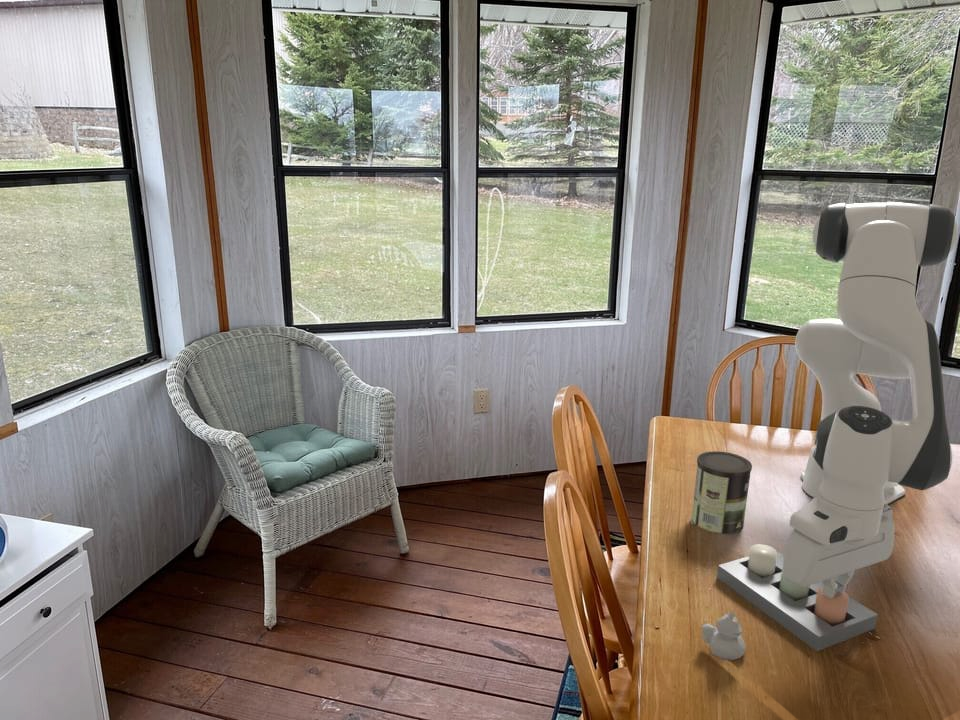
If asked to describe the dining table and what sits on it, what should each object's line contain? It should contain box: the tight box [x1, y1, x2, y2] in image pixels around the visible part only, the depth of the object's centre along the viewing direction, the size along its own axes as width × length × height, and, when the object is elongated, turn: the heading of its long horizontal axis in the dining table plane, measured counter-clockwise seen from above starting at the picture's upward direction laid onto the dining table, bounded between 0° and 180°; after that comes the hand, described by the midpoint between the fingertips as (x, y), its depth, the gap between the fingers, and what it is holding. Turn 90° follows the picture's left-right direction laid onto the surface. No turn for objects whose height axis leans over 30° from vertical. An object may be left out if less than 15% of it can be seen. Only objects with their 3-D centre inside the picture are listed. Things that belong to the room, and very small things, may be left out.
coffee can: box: [690, 451, 753, 535], centre depth 144 cm, size 10×10×14 cm
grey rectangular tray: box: [716, 551, 879, 652], centre depth 120 cm, size 13×21×4 cm, turn 26°
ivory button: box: [748, 543, 778, 578], centre depth 125 cm, size 4×4×5 cm
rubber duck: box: [701, 610, 747, 662], centre depth 108 cm, size 5×7×8 cm
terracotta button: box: [814, 586, 850, 627], centre depth 113 cm, size 4×4×5 cm
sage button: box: [779, 568, 810, 601], centre depth 119 cm, size 4×4×5 cm
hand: (833, 594), depth 112 cm, fingers closed, pressing on terracotta button
